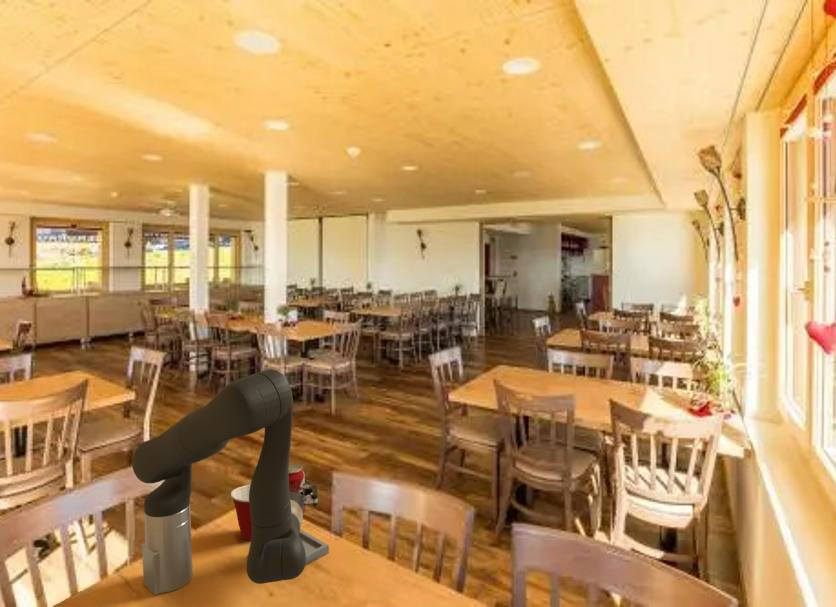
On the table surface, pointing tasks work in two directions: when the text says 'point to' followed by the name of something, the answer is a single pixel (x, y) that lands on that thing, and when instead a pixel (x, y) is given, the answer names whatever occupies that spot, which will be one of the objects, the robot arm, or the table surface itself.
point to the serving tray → (313, 547)
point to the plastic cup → (243, 510)
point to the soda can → (296, 478)
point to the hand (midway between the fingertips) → (290, 483)
